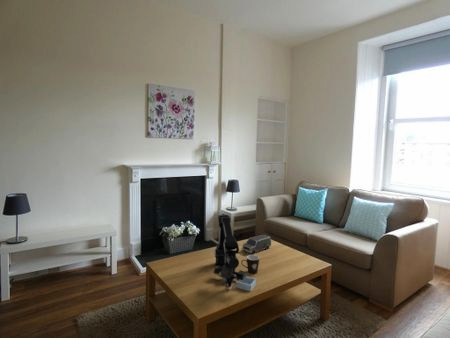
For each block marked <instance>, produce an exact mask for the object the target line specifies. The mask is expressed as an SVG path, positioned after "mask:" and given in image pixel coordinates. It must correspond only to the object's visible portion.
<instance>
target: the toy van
mask: <svg viewBox="0 0 450 338" xmlns="http://www.w3.org/2000/svg"><path fill="white" fill-rule="evenodd" d="M270 247H272V239H271V236H268V235H265V234H260V235H256V236H252V237H249V238H248V240H246V242H244V243H242V248H241V249H242V251H244V252H248V253H249V254H250V255H256V252H259V251H262V250H268V249H269V248H270Z"/></svg>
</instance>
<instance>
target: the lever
mask: <svg viewBox="0 0 450 338" xmlns="http://www.w3.org/2000/svg"><path fill="white" fill-rule="evenodd" d="M212 273H213V275H217V276H218V277H221V273H219V274H216V273H214V270H213V271H212ZM221 278H222V277H221ZM236 281H237V282H240V279H237V278H236V277H235V278H234V280H233V282H232V285H231V286H228V284H226V286H225V288H226V289H227V290H231V289H232V288H233V287H234V286H236Z"/></svg>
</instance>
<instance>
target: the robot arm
mask: <svg viewBox="0 0 450 338" xmlns="http://www.w3.org/2000/svg"><path fill="white" fill-rule="evenodd" d="M231 219H232V218H231V216H230V215H228V214H220V215H217V218H216V221H217V223H218V224H217V225H218V227H219V232H218V233H219V234H218V243H217V244H216V245H215V249H214V258H215V263H214V266H216V267H214V269H213V271H214V273H216V274H219V273H221V278H222V279H223V278H226V280H227V285H228V286H231V285H232V282H233V280H234V278H235V277H236V278H237V279H239V281H241V280H243V279H244V278H245V277H246V276H247V272H246V271H244V270H239V271H237V268H238V267H239V264H240V261H239V258H238V257H237V254H239V251H240V249H239V243H238V242H237V240H236V237H235V236H234V235H233V231H232V227H231V226H232V225H231V223H232V220H231ZM214 273H213V274H214ZM216 274H215V275H216Z"/></svg>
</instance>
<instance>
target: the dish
mask: <svg viewBox="0 0 450 338" xmlns="http://www.w3.org/2000/svg"><path fill="white" fill-rule="evenodd" d="M256 285H257V278H255V277H251V276H247V275H246V277H245V278H244V279H243V280H239V281H238V282H237V281H236V284H235V288H237V289H241V290H244V291H248V292H252V291H253V289H254V287H256Z"/></svg>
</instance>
